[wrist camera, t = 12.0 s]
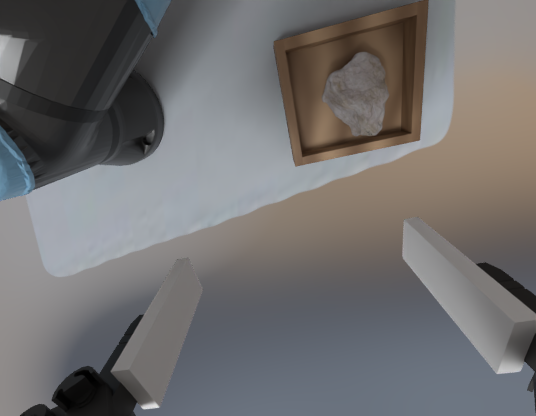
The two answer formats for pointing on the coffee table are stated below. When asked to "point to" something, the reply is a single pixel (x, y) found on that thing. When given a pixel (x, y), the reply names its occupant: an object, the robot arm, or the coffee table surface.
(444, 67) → the coffee table surface
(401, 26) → the tray
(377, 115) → the stone
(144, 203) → the coffee table surface
